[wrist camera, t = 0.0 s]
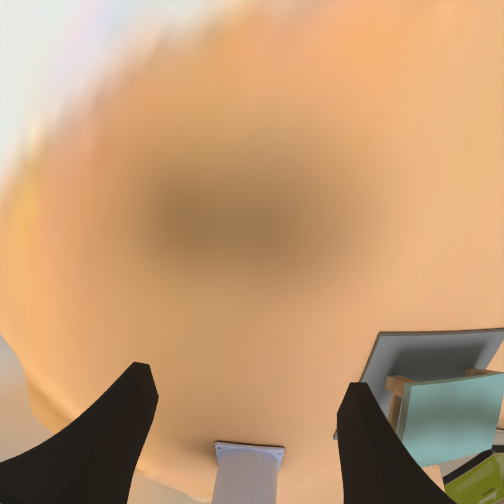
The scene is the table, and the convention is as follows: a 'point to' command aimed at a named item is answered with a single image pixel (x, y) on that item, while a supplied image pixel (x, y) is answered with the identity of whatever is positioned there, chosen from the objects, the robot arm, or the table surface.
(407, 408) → the footstool
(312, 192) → the table surface
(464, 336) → the floor mat
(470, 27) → the table surface
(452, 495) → the tea box
